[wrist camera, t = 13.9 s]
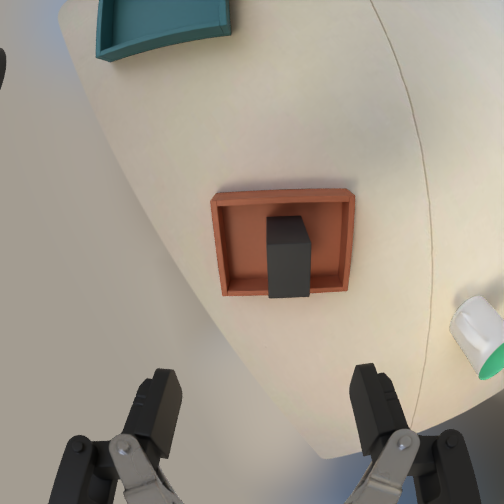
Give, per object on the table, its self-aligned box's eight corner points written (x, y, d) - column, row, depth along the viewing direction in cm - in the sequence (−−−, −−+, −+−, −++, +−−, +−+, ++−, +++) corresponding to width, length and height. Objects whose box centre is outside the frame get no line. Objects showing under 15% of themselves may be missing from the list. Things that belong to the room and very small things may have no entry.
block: (268, 261, 30) (268, 298, 24) (266, 216, 28) (266, 244, 21) (301, 260, 30) (309, 297, 23) (301, 215, 28) (311, 242, 21)
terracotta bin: (226, 281, 32) (222, 296, 29) (215, 193, 28) (210, 200, 25) (341, 276, 31) (347, 291, 28) (346, 188, 27) (355, 195, 24)
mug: (426, 325, 34) (456, 376, 24) (457, 281, 31) (497, 326, 21) (465, 339, 35) (492, 381, 26) (492, 302, 32) (525, 341, 23)
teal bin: (110, 62, 22) (95, 58, 19) (113, -7, 17) (100, -16, 14) (231, 35, 21) (227, 24, 18) (226, -36, 16) (222, -50, 13)
